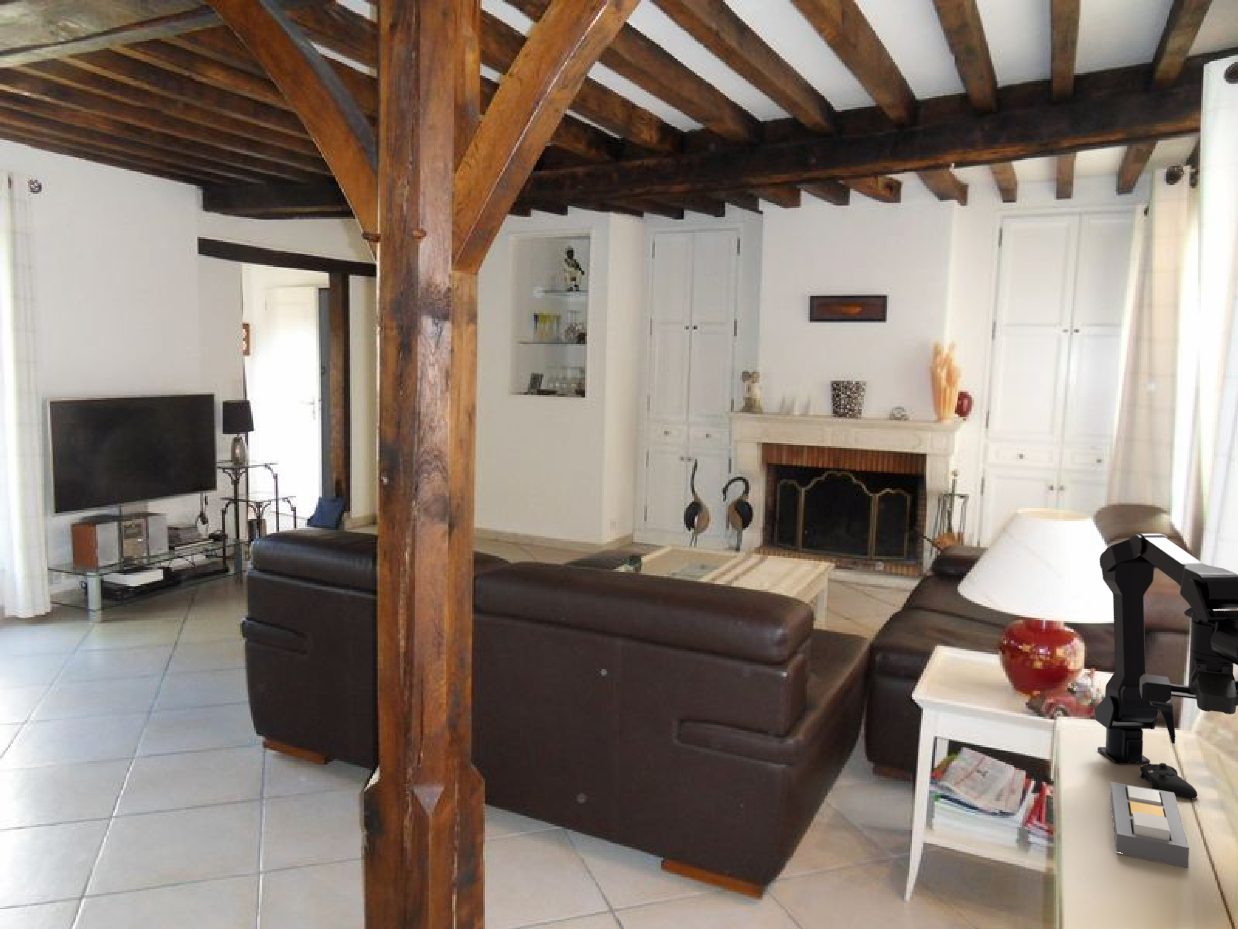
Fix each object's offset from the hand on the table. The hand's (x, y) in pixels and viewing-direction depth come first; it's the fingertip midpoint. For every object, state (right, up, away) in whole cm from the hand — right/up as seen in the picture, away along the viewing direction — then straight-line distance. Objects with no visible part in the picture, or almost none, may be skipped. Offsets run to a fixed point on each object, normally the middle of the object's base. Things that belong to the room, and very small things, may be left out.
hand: (1207, 747), depth 137 cm
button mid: (-11, -11, -2) cm, 16 cm away
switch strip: (-11, -12, -2) cm, 17 cm away
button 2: (-14, -10, -7) cm, 19 cm away
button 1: (-8, -10, +3) cm, 14 cm away
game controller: (+2, -11, +13) cm, 18 cm away
